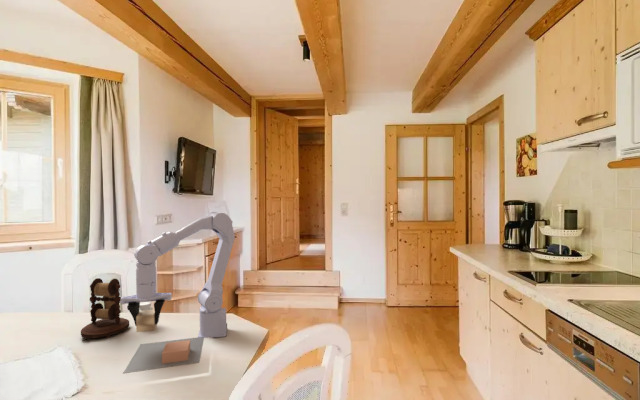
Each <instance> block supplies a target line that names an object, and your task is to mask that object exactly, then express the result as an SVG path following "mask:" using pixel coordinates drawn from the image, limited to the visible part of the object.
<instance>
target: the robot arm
mask: <svg viewBox="0 0 640 400" xmlns="http://www.w3.org/2000/svg"><path fill="white" fill-rule="evenodd" d="M201 230H211V231H213V232H214V234H215V235H216V236H217V238H218V239H219V240H218V243H217V246H216V250H215V253H214V257H213V260H212V265H211V267H210V270H209V274H208V278H207V281H206V282H205V283H204V285H203V287H202V289H201V290H200V292H199V293H198V295H197V300H198V303H199V304H200V307H199V330H198V335H197V337H203V338H204V339H206V338H207V339H208V338H213V339H214V338H221V337H226V336H227V329H228V322H227V307H222V306H223V302H224V301H223V299H224V298H223V293H224V290H223V289H224V288H223V283H224V282H223V281H224V278H225V274H226V271H227V267H228V264H229V260H230V256H231V253H232V249H233V246H234V242H235V238H236V236H235V231H234V226H233V220H232V219H231V217H230V216H229V215H228V214H226V213H224V212H216V211H212V212H209V213H208V214H205V215H202V216H200V217H199V218H196V219H195V220H194V221H192V222H190V223H189V224H187V225H185V226H183V227H182V228H180V229H179V230H177V231H175V232H174V231H173V232H172V231H168V232H166V231H164V232H161V235H160V236H158V237H156V238H155V239H152V240H148V241H147V242H146V244H141V245H139V246H138V247H137V248H136V249H135V252H134V254H133V255H134V258H135V259H136V264H135V265H136V267H135V276H136V277H135V281H136V282H135V283H136V284H135V286H136V288H135V289H136V294H131V295H127V296H121V299H120V303H119V305H120V306H121V305H123V306H124V305H125V304H128V305H127V310H128V312H129V313H130V314H131V316H132V318H133V321H134V325H135V327H136V316H137V315H138V314H139V307H140V303H143V302H154V303H153V307H154V309H153V310H155V324H157V325H158V324H159V321H160V316H161V311H162V309H163V306H164V304H165V301H171V300H172V299H173V298H172V292H157V289H158V288H157V266H156V261H157V260H158V258H159V257H161V256H163V255H165V254H167V253H168V252H170V251H172V250H174V249H175V248H178V247H179V244H180V242H181V241H183V240H184V239H186V238H189V236H192V235H194V234H196V233H198V232H199V231H201Z"/></svg>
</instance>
